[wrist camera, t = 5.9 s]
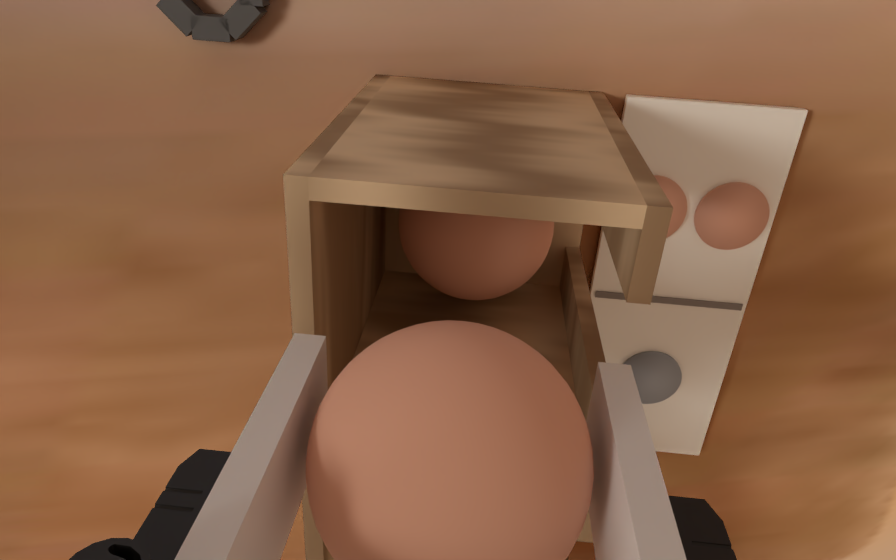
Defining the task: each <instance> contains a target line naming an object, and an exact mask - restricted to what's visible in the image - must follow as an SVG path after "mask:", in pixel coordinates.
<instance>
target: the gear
mask: <svg viewBox="0 0 896 560" xmlns="http://www.w3.org/2000/svg"><path fill="white" fill-rule="evenodd" d="M266 5H269V0H237V1H236V2H235V3H234V5H233V6H232V7H231V8H230V9H229V10H228V11H227V12H226V14H225V15H221V14H207V13H203V11H202V10H201V9H200V8H199V7H198V6H197V5H196V4H195V3H194V2H193V1H192V0H160V1H159V2H158V4H157V5H156V6H157V7H158V8H159V9H160V10H161V11H162V12H163V13H164V14H165V15H166V16H167V17H168V18H169V19H170V20H171V21H172V22H173V23H174V24H175V25H176V26H177V27H178V28H179V29H180V30H181V31H182V32H183V33H184V34H185V35H186V36H189V35H192V37H193V40H206V41H219V42H232V41H235V40H238V39H240V38H243V37H244V36H245V35H246V34H247V33H248V31H249V30H250V29H251V28H252V27H253V26H254V25H255V24H256V23H257V22H258V21H259V19H260V18H261V17H262V16H263V15H264V14H265V13H266V12H267V10H266V9H265V8H264V7H263V6H266Z"/></svg>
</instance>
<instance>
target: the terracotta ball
mask: <svg viewBox="0 0 896 560" xmlns="http://www.w3.org/2000/svg"><path fill="white" fill-rule="evenodd" d="M553 232H554V222H552V221H540V220H529V219H517V218H506V217H494V216H483V215H471V214H460V213H448V212H437V211H425V210H414V209H402V208H400V211H399V234H400V239H401V244H402V247H403V250H404V252H405V254H406V256H407V258H408V260H409V262H410V264H411V265H412V267H413V268H414V270H415V271H416V272H417V273H418V275H419V276H420V277H421V278H422V279H423V280H425V281H426V282H427V283H428V284H429V285H431V286H432V287H434V288H435V289H437V290H439V291H440V292H442V293H444V294H447V295H449V296H452V297H456V298H459V299H465V300H487V299H492V298H497V297H500V296H503V295H505V294H507V293H510V292H512V291H514V290H515V289H517V288H519V287H520V286H522V285H523V284H524V283H526V282H527V281H528V280H529V279H530V278H531V277H532V276H533V275H534V274H535V273H536V271H537V270H538V269H539V267H540V266H541V265H542V263H543V261H544V260H545V258H546V256H547V253H548V251H549V248H550V245H551V242H552V238H553Z"/></svg>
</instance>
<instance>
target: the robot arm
mask: <svg viewBox="0 0 896 560" xmlns="http://www.w3.org/2000/svg"><path fill="white" fill-rule="evenodd" d="M327 391H328V384H327V351H326V336H321V335H311V334H300V333H294V335H293V337H292V339H291V341H290V343H289V345H288V347H287V348H286V350H285V352H284V354H283V356H282V358H281V360H280V362H279V364H278V365H277V367H276V369H275V371H274V373H273V375H272V377H271V379H270V380H269V382H268V384H267V386H266V388H265V390H264V392H263V394H262V396H261V397H260V399H259V401H258V403H257V405H256V407H255V409H254V411H253V412H252V414H251V416H250V418H249V420H248V422H247V424H246V426H245V428H244V429H243V431H242V433H241V435H240V437H239V439H238V441H237V443H236V444H235V446H234V448H233V450H232V452H224V451H215V450H205V449H199V450H198V451H196V452H195V453H194V454H193V455H192V456H190V457H189V458H188V459H187V460H185V461H184V462H183V463H182V464H180V465H179V466H178V468H177V469H176V471H175V473H174V474H173V476H172V477H171V479H170V481H169V482H168V484H167V486H166V489H165V491H163V492H162V494H161V495H160V497H159V499H158V500H157V502H156V503H155V508H152V510H151V512H150V513H149V515H148V516H147V518H146V520H145V521H144V523H143V524H142V526H141V528H140V529H139V531H138V533H137V534H136V536H135V537H134V539H133V540H132V539H129V538H110V539H107V540H103V541H100V542H96V543H93V544H91V545H89V546H88V547H86V548H84V549H82V550H81V551H79V552H77V553H76V554H75V555H74V556H72V557H71V558H70V559H69V560H280V558H281V556H282V553H283V550H284V547H285V545H286V542H287V539H288V536H289V533H290V531H291V528H292V525H293V522H294V520H295V517H296V514H297V511H298V509H299V506H300V503H301V500H302V498H303V495H304V492H305V489H306V487H307V485H306V455H307V446H308V441H309V436H310V432H311V428H312V425H313V421H314V418H315V416H316V413H317V411H318V408H319V406H320V404H321V402H322V400H323V398H324V396H325V394H326V393H327ZM586 423H587V427H588V430H589V434H590V439H591V443H592V449H593V465H594V480H593V488H592V496H591V504H590V507H589V516H590V523H591V530H592V537H593V544H594V551H595V558H596V560H737V559H736V556H735V553H734V551H733V550H732V549H731V542H730V540H729V537H728V534H727V532H726V529H725V526H724V523H723V521H722V520H721V519H720V517H719V516H718V515H717V514H716V513H715V511H714V510H713V509H712V508H711V507H710V505H709V504H708V503H707V502H706V501H705V499H695V498H685V497H676V496H668V493H667V490H666V486H665V483H664V479H663V476H662V472H661V469H660V465H659V462H658V458H657V455H656V451H655V448H654V444H653V441H652V437H651V434H650V430H649V427H648V423H647V420H646V416H645V413H644V409H643V406H642V402H641V399H640V395H639V392H638V388H637V385H636V382H635V378H634V375H633V371H632V368H631V365H626V364H615V363H605V362H598V365H597V370H596V375H595V380H594V385H593V390H592V395H591V400H590V405H589V410H588V415H587V419H586Z"/></svg>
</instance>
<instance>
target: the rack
mask: <svg viewBox="0 0 896 560" xmlns="http://www.w3.org/2000/svg"><path fill="white" fill-rule="evenodd" d="M283 182H284V199H285V216H286V233H287V250H288V267H289V284H290V301H291V318H292V334H293V335H294V333H300V334H311V335H321V336H326V351H327V384H328V389H329V388H330V386H331V385H332V383H333V381H334V380H335V379H336V378H337V377H338V375H339V374H340V373H341V372H342V371H343V369H344V368H345V367H346V366H347V365H348V364H349V362H350V361H352V360H353V359H354V358H355V357H356V356H357V355H358V354H360V353H361V352H362V351H363V350H365V349H366V348H367V347H368V346H370V345H371V344H373V343H375V342H376V341H378V340H379V339H381V338H383V337H385V336H387V335H389V334H391V333H393V332H396V331H398V330H401V329H404V328H407V327H410V326H413V325H416V324H421V323H426V322H431V321H444V320H452V321H467V322H473V323H479V324H483V325H487V326H490V327H494V328H496V329H499V330H501V331H504V332H507V333H509V334H511V335H512V336H514V337H516V338H518V339H520V340H522V341H523V342H525V343H526V344H528V345H529V346H530V347H532V348H533V349H535V350H536V351H538V352H539V353H540V354H541V355H542V356H543V357H545V358H546V359H547V360H548V361H549V362H550V363H551V364H552V365H553V366H554V368H555V369H556V370H557V371H558V373H559V374H560V375H561V376H562V377H563V379H564V380H565V381H566V382H567V384H568V385H569V387H570V389H571V390H572V392H573V394H574V395H575V397H576V399H577V401H578V403H579V405H580V407H581V410H582V412H583V415H584V417H585V420H586V419H587V415H588V410H589V405H590V400H591V395H592V390H593V385H594V380H595V375H596V370H597V365H598V362H605V363H606V361H605V356H604V352H603V348H602V343H601V339H600V335H599V330H598V326H597V322H596V317H595V313H594V309H593V304H592V300H591V295H590V291H589V287H588V282H587V278H586V274H585V269H584V265H583V261H582V256H581V252H580V242H581V236H582V230H583V224H586V225H598V226H602V229H603V232H604V235H605V238H606V241H607V244H608V247H609V250H610V253H611V256H612V260H613V263H614V266H615V269H616V272H617V275H618V278H619V281H620V284H621V287H622V291H623V294H624V297H625V300H626V302H627V303H638V304H649V305H650V304H651V300H652V296H653V292H654V288H655V283H656V279H657V275H658V271H659V266H660V262H661V258H662V254H663V250H664V245H665V241H666V237H667V233H668V228H669V224H670V220H671V216H672V212H673V206H672V205H671V203H670V202H669V200H668V198H667V197H666V195H665V193H664V192H663V190H662V188H661V187H660V185H659V183H658V182H657V180H656V178H655V177H654V175H653V173H652V172H651V170H650V168H649V167H648V165H647V164H646V162H645V160H644V159H643V157H642V155H641V154H640V152H639V150H638V149H637V147H636V145H635V144H634V142H633V140H632V139H631V137H630V135H629V134H628V132H627V130H626V129H625V127H624V126H623V124H622V122H621V121H620V119H619V117H618V116H617V114H616V112H615V111H614V109H613V107H612V106H611V104H610V102H609V101H608V99H607V97H606V96H605V94H604V92H592V91H579V90H566V89H554V88H541V87H528V86H516V85H503V84H490V83H477V82H465V81H452V80H439V79H426V78H414V77H401V76H388V75H375V76H374V77H373V78H372V79H371V80H370V82H369V83H368V84H367V85H366V86H365V87H364V88H363V89H362V90H361V91H360V92H359V93H358V94H357V96H356V97H355V98H354V99H353V100H352V101H351V102H350V103H349V104H348V105H347V106H346V107H345V108H344V110H343V111H342V112H341V113H340V114H339V115H338V116H337V117H336V118H335V119H334V120H333V121H332V122H331V124H330V125H329V126H328V127H327V128H326V129H325V130H324V131H323V132H322V133H321V134H320V135H319V136H318V138H317V139H316V140H315V141H314V142H313V143H312V144H311V145H310V146H309V147H308V148H307V149H306V150H305V152H304V153H303V154H302V155H301V156H300V157H299V158H298V159H297V160H296V161H295V162H294V163H293V164H292V166H291V167H290V168H289V169H288V170H287V171H286V172H285V173H284V174H283ZM400 208H402V209H414V210H425V211H437V212H448V213H460V214H471V215H483V216H494V217H506V218H517V219H529V220H540V221H552V222H554V232H553V238H552V242H551V245H550V248H549V251H548V253H547V256H546V258H545V260H544V261H543V263H542V265H541V266H540V267H539V269H538V270H537V271H536V273H535V274H534V275H533V276H532V277H531V278H530V279H529V280H528V281H527V282H526V283H524V284H523V285H522V286H520V287H519V288H517V289H515V290H514V291H512V292H510V293H507V294H505V295H503V296H500V297H497V298H492V299H487V300H465V299H459V298H456V297H452V296H449V295H447V294H444V293H442V292H440V291H439V290H437V289H435V288H434V287H432V286H431V285H429V284H428V283H427V282H426V281H425V280H423V279H422V278H421V277H420V276H419V275H418V273H417V272H416V271H415V270H414V268H413V267H412V265H411V264H410V262H409V260H408V258H407V256H406V254H405V252H404V250H403V247H402V244H401V239H400V234H399V211H400ZM302 504H303V521H304V537H305V554H306V560H334V559H333V557H332V556H331V554H330V553H329V551H328V550H327V548H326V546H325V544H324V542H323V540H322V538H321V536H320V534H319V532H318V530H317V528H316V525H315V521H314V518H313V515H312V512H311V508H310V504H309V500H308V493H307V487H306V489H305V492H304V495H303V498H302ZM577 541H580V542H589V543H593V537H592V530H591V523H590V516H589V510H588V513H587V516H586V519H585V523H584V526H583V529H582V531H581V533H580V535H579V537H578V539H577ZM565 560H568V557H567V558H566V559H565Z"/></svg>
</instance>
